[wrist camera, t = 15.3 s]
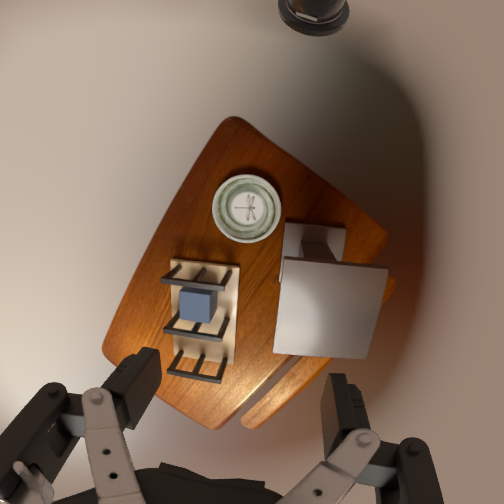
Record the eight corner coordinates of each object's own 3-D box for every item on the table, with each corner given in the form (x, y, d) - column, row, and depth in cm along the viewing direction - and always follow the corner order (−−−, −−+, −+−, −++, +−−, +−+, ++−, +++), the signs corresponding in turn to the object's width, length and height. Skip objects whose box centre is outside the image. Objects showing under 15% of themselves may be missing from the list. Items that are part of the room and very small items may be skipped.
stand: (284, 221, 43) (283, 258, 24) (345, 227, 42) (389, 269, 23) (278, 279, 45) (272, 352, 26) (336, 285, 44) (365, 359, 25)
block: (189, 279, 46) (179, 290, 41) (218, 282, 45) (210, 295, 40) (189, 305, 47) (179, 319, 42) (217, 309, 46) (209, 323, 42)
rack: (172, 258, 46) (153, 272, 39) (240, 265, 45) (231, 282, 38) (175, 351, 51) (161, 375, 44) (234, 361, 50) (226, 387, 43)
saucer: (209, 182, 43) (204, 183, 40) (273, 168, 41) (273, 167, 39) (223, 245, 45) (220, 249, 42) (287, 233, 43) (287, 236, 41)
